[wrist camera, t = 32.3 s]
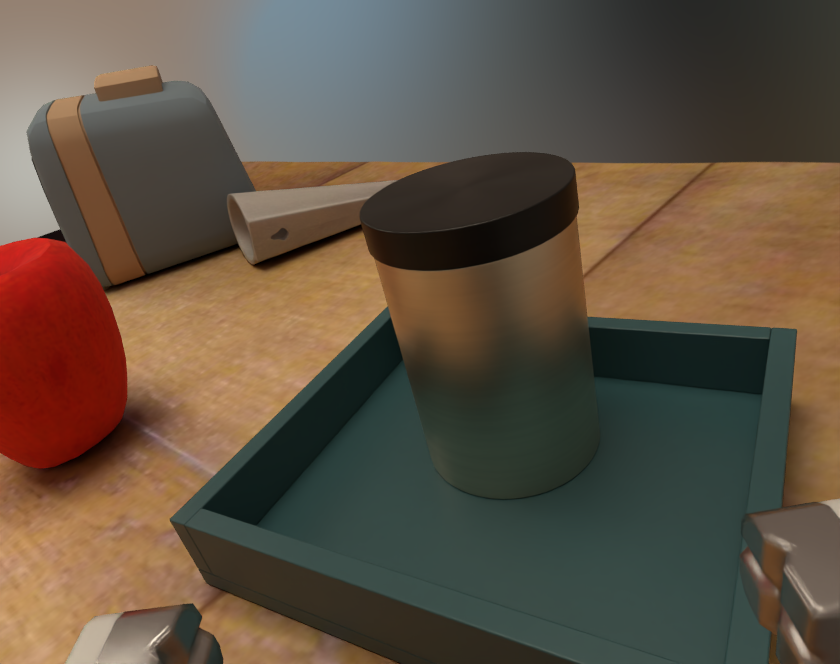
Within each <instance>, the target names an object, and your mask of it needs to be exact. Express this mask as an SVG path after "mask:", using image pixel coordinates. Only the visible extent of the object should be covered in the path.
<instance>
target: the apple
mask: <svg viewBox="0 0 840 664" xmlns="http://www.w3.org/2000/svg"><path fill="white" fill-rule="evenodd" d="M126 402H127V368H126V357H125V353H124V348H123V343H122V339H121V335H120V332H119V329H118V326H117V323H116V320H115V317H114V314H113V311H112V308H111V305H110V303H109V301H108V299H107V297H106V294H105V292H104V290H103V288H102V286H101V283H100V282H99V280H98V279H97V277H96V276H95V274H94V273H93V271H92V269H91V268H90V266H89V265H88V264H87V263H86V262H85V261H84V260H83V259H82V258H81V257H80V256H79V255H78V254H77V253H76V252H75V251H74V250H73V249H72V248H71V247H70V246H69V245H68V244H66V243H65V242H61V241H56V240H51V239H45V238H31V239H26V240H21V241H16V242H12V243H9V244H6V245H2V246H0V453H1V454H3V455H5V456H7V457H8V458H10V459H12V460H14V461H16V462H18V463H21V464H23V465H25V466H28V467H33V468H39V469H42V468H50V467H56V466H58V465H60V464H62V463H65V462H67V461H69V460H71V459H74V458H76V457H78V456H79V455H81V454H82V453H84V452H85V451H87V450H88V449H90V448H91V447H93V446H94V445H96V444H97V443H99V442H100V441H101V440H102V439H103V438H105V437H106V436H107V435H108V434H110V433H111V432H112V431H113V430H114V429H115V427H116V426H117V425H118V423H119V422H120V421H121V420H122V417H123V414H124V410H125V406H126Z"/></svg>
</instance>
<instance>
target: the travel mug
mask: <svg viewBox="0 0 840 664" xmlns="http://www.w3.org/2000/svg"><path fill="white" fill-rule="evenodd" d="M578 210H579V202H578V193H577V183H576V174H575V168H574V166H573V165H572V163H570V162H569V161H568V160H566V159H564V158H562V157H559V156H556V155H551V154H545V153H534V152H533V153H532V152H516V153H501V154H491V155H484V156H478V157H472V158H467V159H462V160H458V161H453V162H450V163H446V164H442V165H438V166H435V167H432V168H429V169H426V170H423V171H420V172H417V173H414V174H412V175H409V176H407V177H404V178H402V179H400V180H398V181H396V182H394V183H392V184H390V185H388V186H386V187H384V188H383V189H381V190H380V191H378V192H377V193H375V194H374V195H373V196H371V197H370V198H369V199H368V200H367V201H366V202H365V203H364V204H363V206H362V207H361V210H360V213H359V217H360V221H361V225H362V228H363V232H364V235H365V239H366V242H367V246H368V249H369V252H370V254H371V255H372V256H373V257H374V259H375V262H376V266H377V269H378V273H379V276H380V280H381V283H382V287H383V291H384V294H385V298H386V301H387V305H388V308H389V312H390V315H391V319H392V322H393V326H394V329H395V333H396V336H397V340H398V343H399V347H400V350H401V354H402V357H403V361H404V364H405V368H406V371H407V375H408V378H409V382H410V385H411V389H412V392H413V396H414V399H415V403H416V406H417V410H418V414H419V417H420V421H421V424H422V428H423V431H424V435H425V438H426V442H427V445H428V449H429V452H430V456H431V459H432V462H433V464H434V467H435V468H436V470H437V471H438V473H439V474H440V475H441V476H442V477H443V478H444V479H445V480H446V481H447V482H448V483H450V484H451V485H452V486H454V487H456V488H458V489H459V490H462V491H464V492H466V493H469V494H472V495H476V496H479V497H485V498H492V499H516V498H524V497H530V496H534V495H538V494H541V493H544V492H547V491H550V490H553V489H555V488H557V487H559V486H561V485H563V484H565V483H566V482H568V481H570V480H571V479H573V478H574V477H575V476H577V475H578V474H579V473H580V472H581V471H582V470H583V469H584V468H585V467H586V466H587V465H588V464H589V462H590V461H591V460H592V458H593V456H594V454H595V452H596V450H597V448H598V444H599V440H600V429H599V420H598V410H597V401H596V392H595V383H594V373H593V364H592V355H591V346H590V336H589V327H588V318H587V308H586V299H585V290H584V281H583V271H582V262H581V253H580V243H579V234H578V225H577V214H578Z"/></svg>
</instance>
